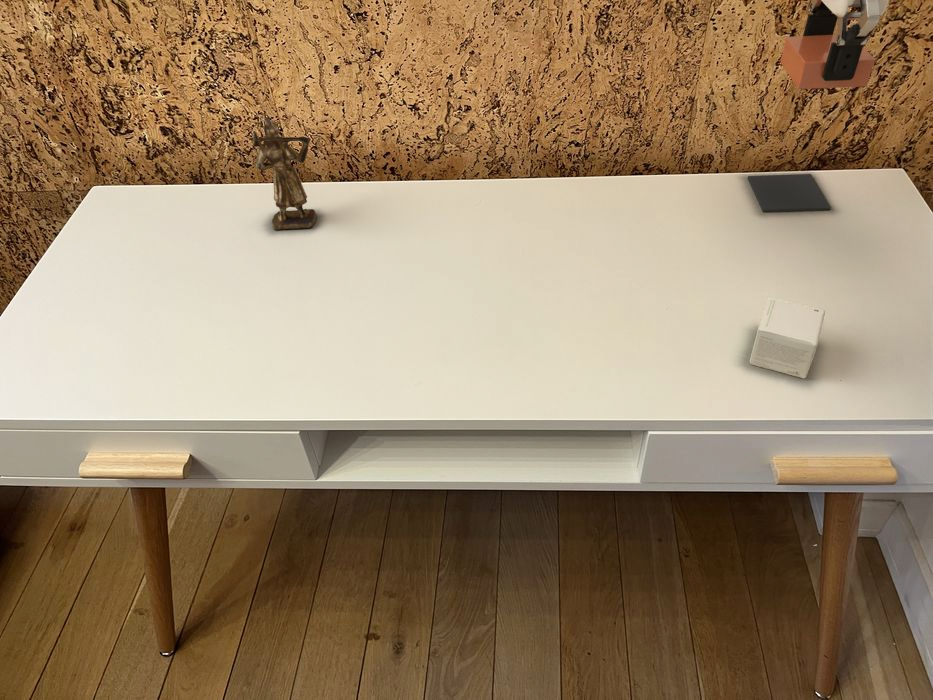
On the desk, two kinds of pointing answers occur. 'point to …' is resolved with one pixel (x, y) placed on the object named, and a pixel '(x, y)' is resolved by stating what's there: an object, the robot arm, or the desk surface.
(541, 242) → the desk surface
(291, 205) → the figurine
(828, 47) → the orange flat block
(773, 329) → the small box
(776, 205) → the mat
